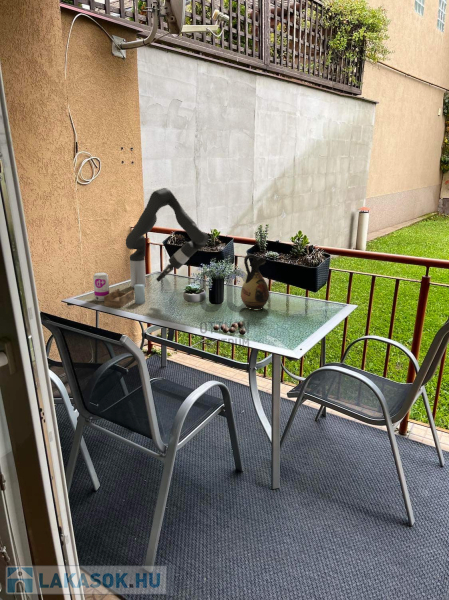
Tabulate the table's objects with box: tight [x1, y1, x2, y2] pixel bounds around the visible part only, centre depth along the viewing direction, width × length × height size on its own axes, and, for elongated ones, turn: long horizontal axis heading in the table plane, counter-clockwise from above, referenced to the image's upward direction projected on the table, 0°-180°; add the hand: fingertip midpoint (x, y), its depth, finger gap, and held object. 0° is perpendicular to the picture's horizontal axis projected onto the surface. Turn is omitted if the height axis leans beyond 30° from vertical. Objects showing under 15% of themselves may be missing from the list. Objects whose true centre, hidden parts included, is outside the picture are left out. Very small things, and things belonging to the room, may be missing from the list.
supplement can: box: [92, 271, 110, 302], centre depth 252 cm, size 8×8×15 cm
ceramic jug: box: [240, 253, 270, 309], centre depth 239 cm, size 17×15×30 cm
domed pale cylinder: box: [134, 284, 146, 305], centre depth 248 cm, size 6×6×10 cm
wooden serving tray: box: [103, 288, 135, 308], centre depth 249 cm, size 16×10×5 cm, turn 165°
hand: (159, 278), depth 245 cm, fingers open, 8 cm apart
